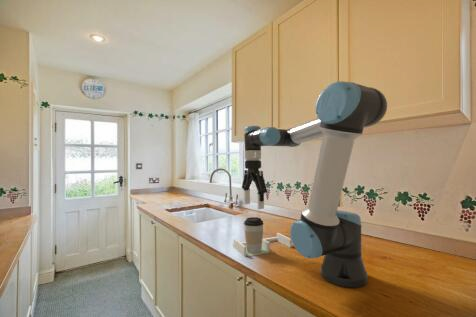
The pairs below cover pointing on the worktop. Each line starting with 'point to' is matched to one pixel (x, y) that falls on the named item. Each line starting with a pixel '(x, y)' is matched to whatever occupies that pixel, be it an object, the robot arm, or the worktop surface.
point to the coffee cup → (253, 234)
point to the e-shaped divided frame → (263, 243)
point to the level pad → (257, 253)
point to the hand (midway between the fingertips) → (253, 206)
